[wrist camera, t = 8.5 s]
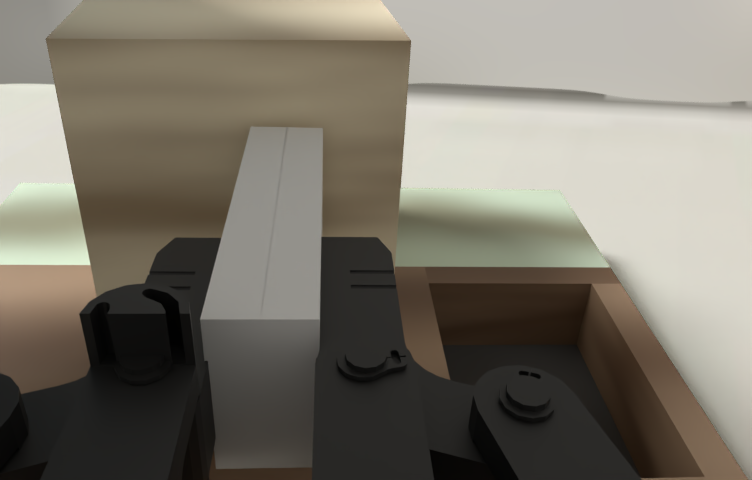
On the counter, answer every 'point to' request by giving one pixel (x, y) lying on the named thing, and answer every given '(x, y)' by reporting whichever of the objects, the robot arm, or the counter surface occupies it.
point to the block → (223, 114)
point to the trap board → (419, 314)
